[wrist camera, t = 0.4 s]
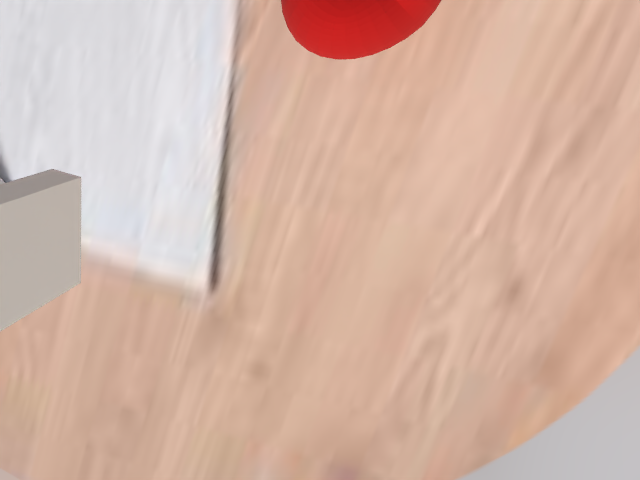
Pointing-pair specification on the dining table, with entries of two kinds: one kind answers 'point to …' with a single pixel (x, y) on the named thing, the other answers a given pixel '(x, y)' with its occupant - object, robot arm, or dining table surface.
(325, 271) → the dining table surface
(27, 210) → the robot arm
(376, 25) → the red rounded piece
